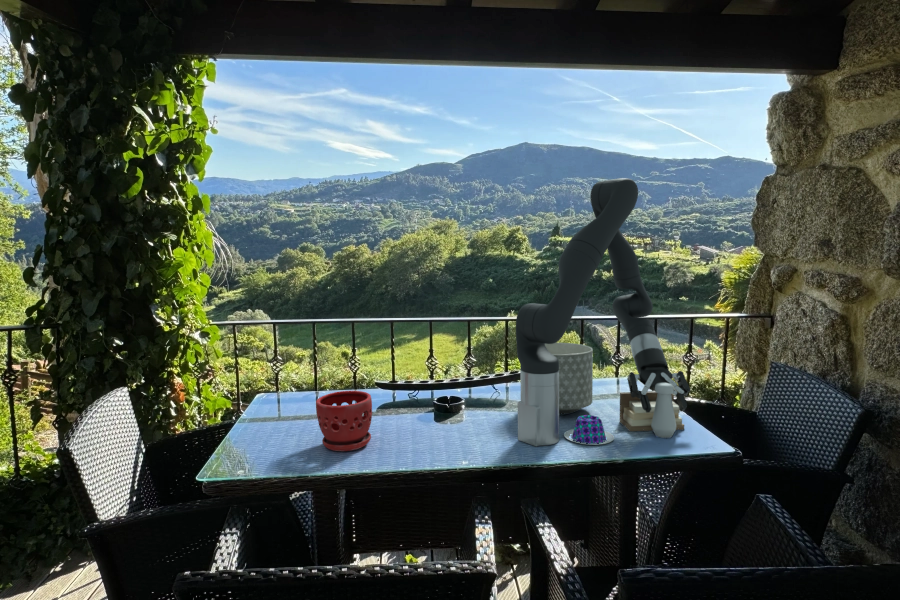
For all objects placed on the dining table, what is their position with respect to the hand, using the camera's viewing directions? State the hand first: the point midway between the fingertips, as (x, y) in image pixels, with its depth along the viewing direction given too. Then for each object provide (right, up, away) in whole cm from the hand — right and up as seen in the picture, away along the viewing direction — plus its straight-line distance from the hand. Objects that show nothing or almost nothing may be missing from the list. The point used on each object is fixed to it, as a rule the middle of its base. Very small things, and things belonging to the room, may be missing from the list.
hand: (666, 410), depth 134 cm
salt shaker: (0, -7, +2) cm, 7 cm away
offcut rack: (0, -6, +9) cm, 11 cm away
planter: (-22, -5, +24) cm, 33 cm away
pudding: (-18, -7, +1) cm, 20 cm away
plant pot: (-78, -8, -1) cm, 78 cm away
